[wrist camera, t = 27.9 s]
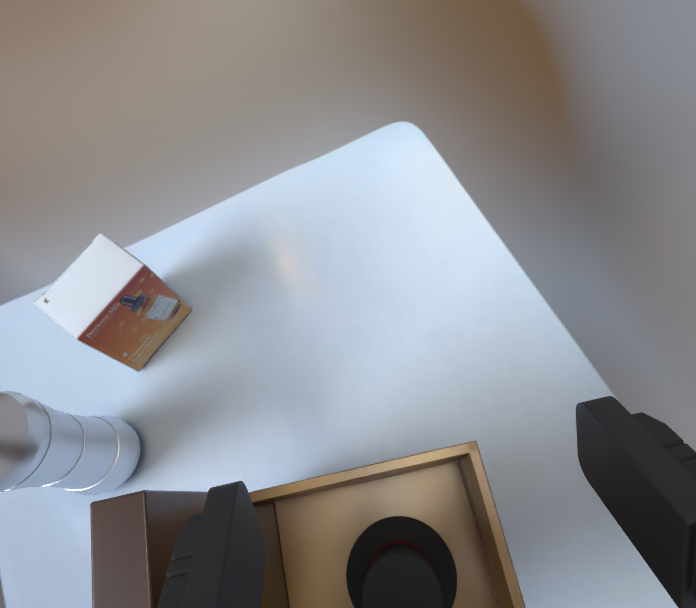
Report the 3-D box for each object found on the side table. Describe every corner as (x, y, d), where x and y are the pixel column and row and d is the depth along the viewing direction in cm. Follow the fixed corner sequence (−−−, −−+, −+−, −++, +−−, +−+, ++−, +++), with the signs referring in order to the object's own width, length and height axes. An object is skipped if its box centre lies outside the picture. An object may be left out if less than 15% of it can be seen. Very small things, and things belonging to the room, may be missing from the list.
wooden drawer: (451, 458, 43) (529, 401, 17) (500, 635, 39) (709, 922, 13) (274, 498, 44) (89, 502, 18) (300, 679, 39) (99, 1053, 13)
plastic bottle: (162, 461, 46) (-1, 437, 27) (97, 511, 45) (-118, 522, 26) (128, 405, 48) (-45, 347, 29) (66, 452, 47) (-154, 423, 28)
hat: (439, 505, 34) (450, 508, 27) (469, 624, 31) (491, 664, 24) (337, 528, 34) (320, 537, 27) (359, 649, 32) (347, 696, 24)
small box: (139, 373, 49) (74, 342, 39) (100, 341, 50) (28, 304, 41) (194, 309, 51) (145, 263, 41) (155, 280, 52) (99, 230, 42)
